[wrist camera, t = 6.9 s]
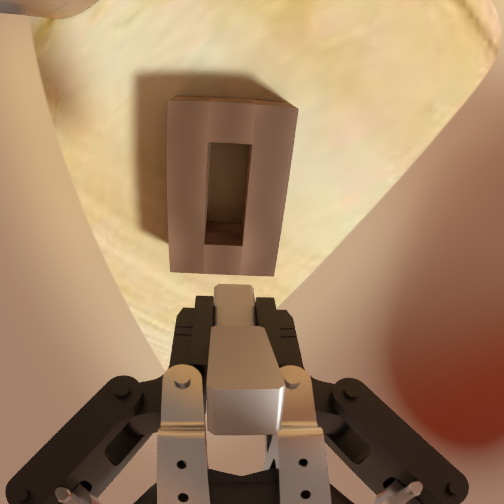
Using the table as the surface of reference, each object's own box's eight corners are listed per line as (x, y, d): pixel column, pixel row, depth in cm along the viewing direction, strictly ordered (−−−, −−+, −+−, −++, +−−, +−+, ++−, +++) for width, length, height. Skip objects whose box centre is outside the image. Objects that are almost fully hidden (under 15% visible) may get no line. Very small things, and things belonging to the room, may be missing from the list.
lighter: (247, 346, 17) (258, 492, 10) (214, 345, 16) (213, 492, 10) (259, 225, 13) (289, 410, 6) (215, 224, 13) (205, 411, 6)
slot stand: (176, 248, 31) (170, 272, 28) (176, 95, 24) (167, 101, 20) (269, 252, 32) (273, 276, 29) (288, 102, 25) (298, 108, 21)
